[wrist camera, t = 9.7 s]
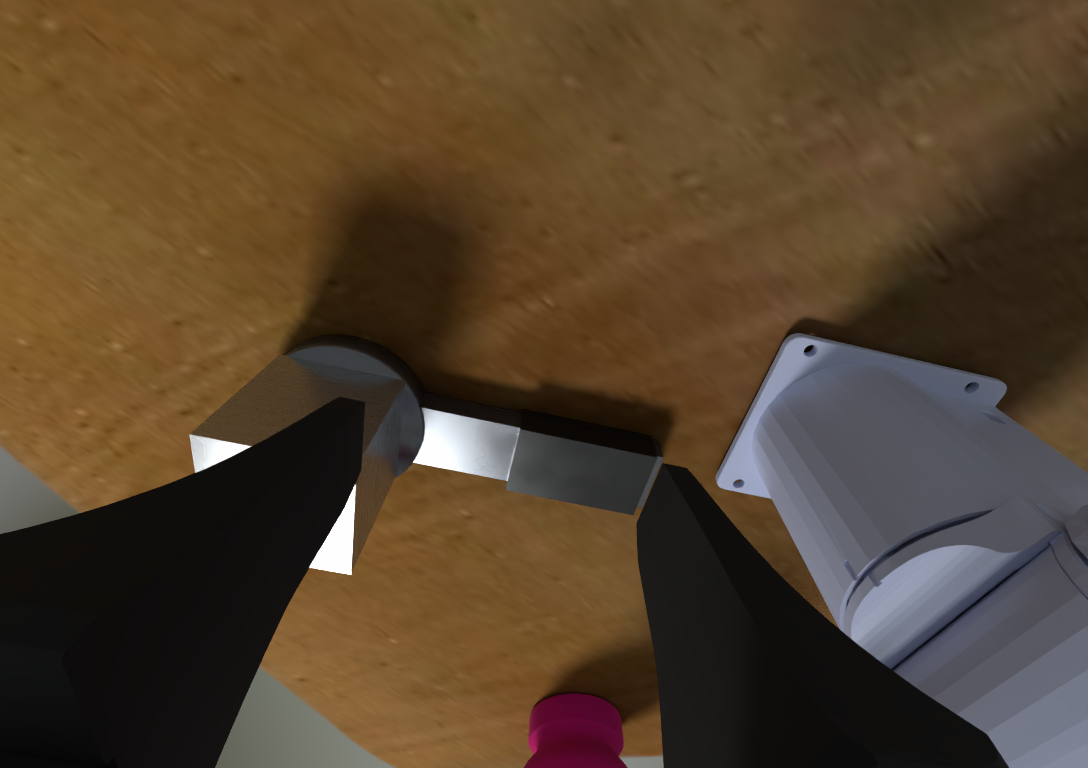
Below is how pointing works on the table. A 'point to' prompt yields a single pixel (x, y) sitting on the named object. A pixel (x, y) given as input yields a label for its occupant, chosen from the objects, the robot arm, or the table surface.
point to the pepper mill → (575, 733)
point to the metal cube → (288, 398)
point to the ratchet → (504, 437)
